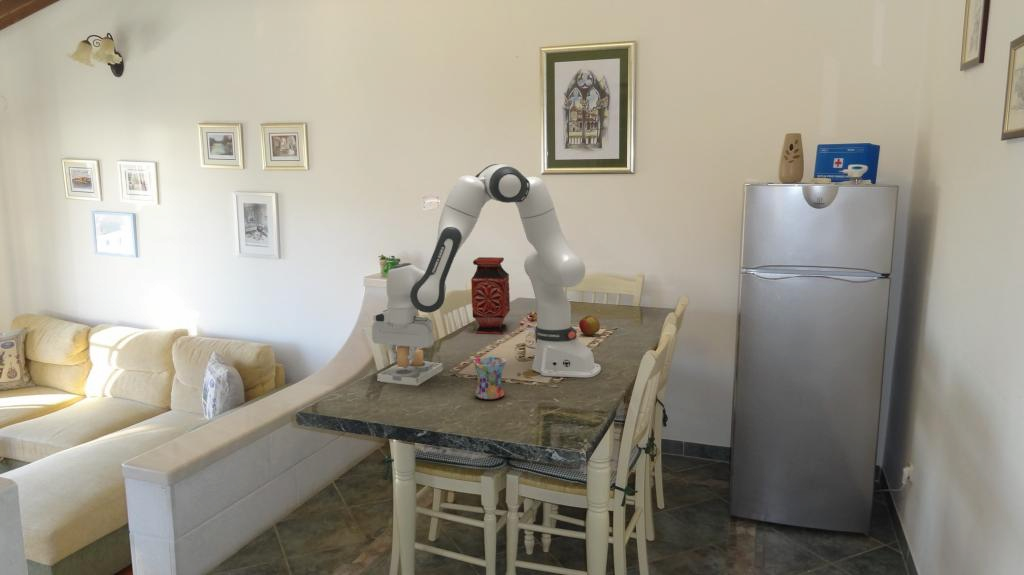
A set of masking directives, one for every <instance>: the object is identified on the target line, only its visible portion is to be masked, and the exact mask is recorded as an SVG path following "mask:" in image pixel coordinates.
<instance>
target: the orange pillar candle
mask: <svg viewBox="0 0 1024 575" xmlns="http://www.w3.org/2000/svg"><path fill="white" fill-rule="evenodd" d="M396 351H397V359H396V360H397V364H396V365H397V366H398V367H408V366H410V360H407V358H408V357H407V355H408V354H410V346H399V345H397V346H396Z"/></svg>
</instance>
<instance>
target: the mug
mask: <svg viewBox="0 0 1024 575" xmlns="http://www.w3.org/2000/svg"><path fill="white" fill-rule="evenodd" d="M472 361H473V362H472V363H473V365H474V368H475V370H476V374H477V387H476V390H475V393H474V395H475V396H476V397H477V398H479V399H482V400H496V399H499V398H502V397H504V395H505V390H504V389H503V384H502V375H503V370H504V366H505V364H506V359H504V357H503V358H502V357H498V356H483V357H478V358H476V359H474V360H472Z"/></svg>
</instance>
